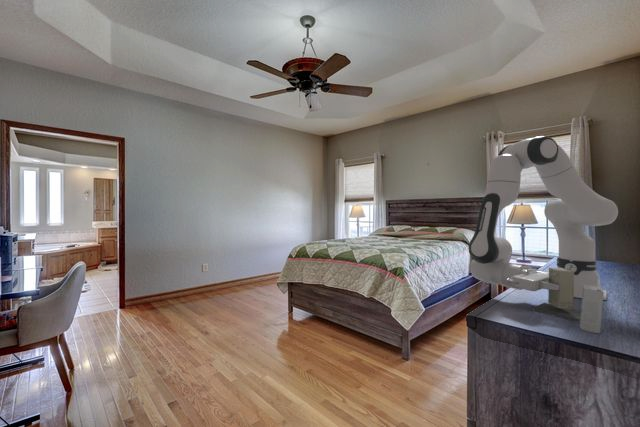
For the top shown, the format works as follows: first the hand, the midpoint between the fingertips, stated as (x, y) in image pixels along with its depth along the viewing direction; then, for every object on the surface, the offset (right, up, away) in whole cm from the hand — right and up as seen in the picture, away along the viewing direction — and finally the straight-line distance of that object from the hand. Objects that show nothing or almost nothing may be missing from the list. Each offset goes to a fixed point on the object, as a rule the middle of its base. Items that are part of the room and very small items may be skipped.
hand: (564, 285), depth 96 cm
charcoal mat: (-1, -9, +1) cm, 9 cm away
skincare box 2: (-2, -10, -12) cm, 15 cm away
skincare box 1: (-1, -7, +1) cm, 7 cm away
